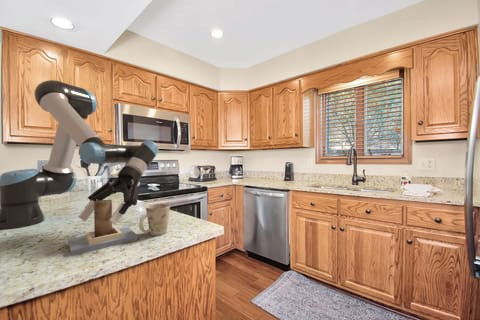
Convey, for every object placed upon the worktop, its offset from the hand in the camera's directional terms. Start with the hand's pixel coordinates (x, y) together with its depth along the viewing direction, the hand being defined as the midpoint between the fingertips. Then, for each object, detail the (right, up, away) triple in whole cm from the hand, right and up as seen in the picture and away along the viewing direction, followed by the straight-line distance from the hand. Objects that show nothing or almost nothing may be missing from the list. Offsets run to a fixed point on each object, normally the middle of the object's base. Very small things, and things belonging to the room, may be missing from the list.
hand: (96, 220), depth 70 cm
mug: (+15, -8, +8) cm, 19 cm away
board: (+1, -8, +2) cm, 8 cm away
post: (+1, -6, +2) cm, 7 cm away
